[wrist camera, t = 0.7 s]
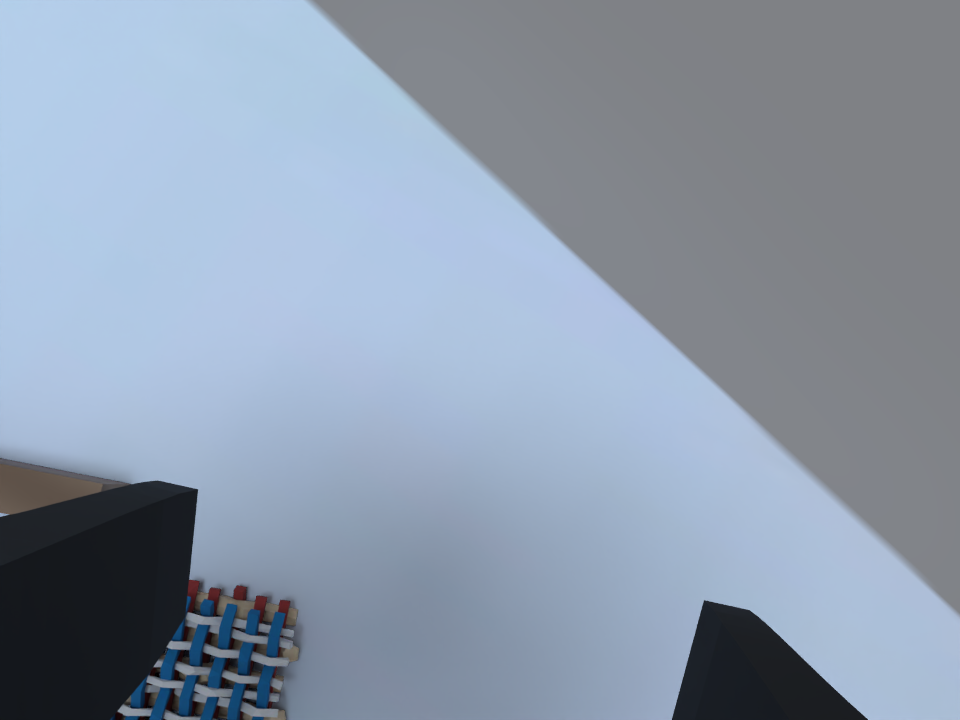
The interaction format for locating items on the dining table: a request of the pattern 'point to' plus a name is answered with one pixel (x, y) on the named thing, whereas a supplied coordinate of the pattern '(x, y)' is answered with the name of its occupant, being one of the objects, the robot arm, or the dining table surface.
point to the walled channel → (44, 486)
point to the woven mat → (219, 661)
